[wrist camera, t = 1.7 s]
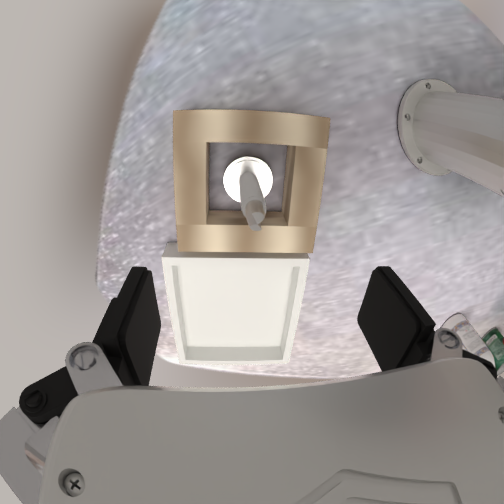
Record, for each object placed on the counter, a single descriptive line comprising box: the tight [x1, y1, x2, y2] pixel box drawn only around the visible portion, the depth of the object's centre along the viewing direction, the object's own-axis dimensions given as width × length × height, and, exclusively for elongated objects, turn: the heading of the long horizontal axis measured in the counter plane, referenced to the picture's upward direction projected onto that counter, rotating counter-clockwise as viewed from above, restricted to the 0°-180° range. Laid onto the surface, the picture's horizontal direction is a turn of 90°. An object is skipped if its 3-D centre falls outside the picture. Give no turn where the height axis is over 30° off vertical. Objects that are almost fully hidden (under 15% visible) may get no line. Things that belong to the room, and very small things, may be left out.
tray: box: [162, 242, 310, 365], centre depth 35 cm, size 16×18×4 cm
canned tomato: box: [482, 327, 504, 376], centre depth 46 cm, size 8×8×11 cm
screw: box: [224, 156, 273, 231], centre depth 23 cm, size 13×5×5 cm
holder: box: [173, 109, 330, 253], centre depth 27 cm, size 14×14×4 cm
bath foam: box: [441, 314, 495, 367], centre depth 36 cm, size 7×7×20 cm
